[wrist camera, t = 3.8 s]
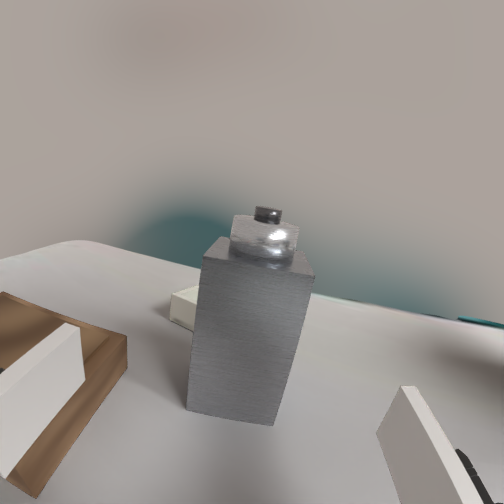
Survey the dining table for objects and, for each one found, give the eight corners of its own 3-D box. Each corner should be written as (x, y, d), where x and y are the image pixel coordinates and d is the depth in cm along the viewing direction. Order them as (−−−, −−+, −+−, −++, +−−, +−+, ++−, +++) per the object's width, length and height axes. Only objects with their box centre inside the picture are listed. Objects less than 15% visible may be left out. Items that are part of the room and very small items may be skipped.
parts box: (212, 301, 38) (215, 278, 37) (254, 317, 35) (259, 294, 35) (169, 319, 31) (171, 293, 30) (215, 342, 28) (220, 314, 28)
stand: (127, 367, 22) (126, 332, 21) (36, 499, 8) (14, 465, 7) (7, 319, 22) (2, 288, 21) (-91, 386, 8) (-106, 348, 7)
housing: (272, 377, 24) (311, 213, 21) (272, 425, 18) (326, 224, 15) (202, 364, 24) (226, 197, 21) (186, 410, 19) (210, 202, 16)
